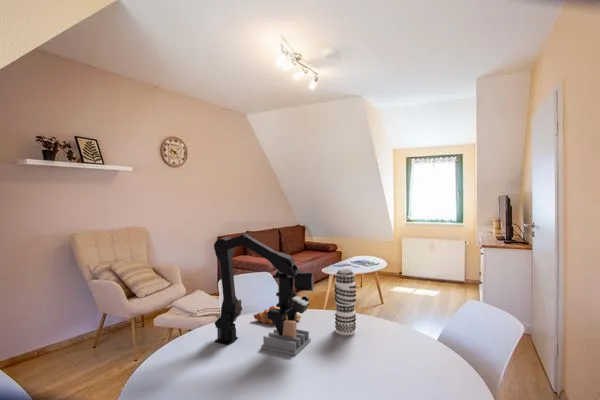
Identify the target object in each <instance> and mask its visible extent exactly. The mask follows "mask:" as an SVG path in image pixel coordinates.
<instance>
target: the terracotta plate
mask: <svg viewBox="0 0 600 400" xmlns="http://www.w3.org/2000/svg"><path fill="white" fill-rule="evenodd" d="M297 329H298V327H297V321H292V320H285V321H284V328H283V335H285V336H291V337H296V338H297ZM278 334H279V333H278Z"/></svg>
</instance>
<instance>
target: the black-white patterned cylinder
mask: <svg viewBox="0 0 600 400" xmlns="http://www.w3.org/2000/svg"><path fill="white" fill-rule="evenodd" d="M355 275H356V274H355V272H353V270H352V269H348V268H347V269H346V268H342V269H339V270H337V272H336V273H335V284H334V286H333V287H334V290H333V291H334V302H335V307H336V308H335V314H334V315H335V317H334V319H335V322H334V324H335V325H334V328H335V330H334V331H335V333H336V334H339V335H342V336H350V335H355V334H356V333H357V330H356V329H357V326H356V325H357V322H356V320H357V318H356V316H357V314H356V309H355V304H356V302H357V299H356V298H355V297H356V296H357V294H356V293H357V290H356V289H355V288H357V285H356V282H355Z"/></svg>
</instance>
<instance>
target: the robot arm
mask: <svg viewBox="0 0 600 400" xmlns="http://www.w3.org/2000/svg"><path fill="white" fill-rule="evenodd" d="M241 246H243V247H244V248H247V249H248V250H249V251H252V252H253V253H255V254H257V255H259V256H261V257H262V258H263V259H265V260H267V261H268V262H269V263H271V265H272V266H273V267H274V268H275V269H276V270H277V271H276V272H275V274H274V275H272V278H273V279H278V281H277V283H278V285H277V286H278V291H277V292H276V296H277V297H278V303H276V304H275V306H276V307H279V308H280V309H277V308H273V309H271V310H270V311H268V312H267V319H270V320H272V322H273V323H274V324H273V325H274V327H275V329H277V331H278V333H279V335H280V336H282V335H283V328H284V321H285V320H286V319H287V318H288V320H292V321H295V318H296V314H304V312H306V311H307V309H308V307H309V306H310V300H309V296H308V295H303V296H297V292H296V291H295V290H294V289H296V290H297V291H304V292H305V291H306V292H307V291H308V292H313V291H314V286H315V280H314V275H313V271H300V269H299V267H298V266H297V265H296V264H295V259H294V257H293V256H292V255H290V254H287V253H284V252H282V251H281V252H280V251H276V250H274V249H273V248H271V247H269V246H268V245H265V244H264V243H262V242H260V241H259V240H257V239H256V238H254V237H252V236H250V234H248V233H244V234H240V235H239V236H235V237H233V238H232V237H229V236H225V237H223V238H219V239H216V241H215V242H214V245H213V249H214V254H215V257H217V260H218V261H219V267H220V276H221V278H220V279H221V288H222V297H223V299H222V303H221V307H220V317H219V318H218V319H217V320H216V321H214V325H215V328H216V329H217V331H216V332H217V338H216V339H215V340H214V342H215V343H219V344H223V345H229V344H232V343H233V342H235V341H236V340H237V339H239V337H238V336H237V328H236V323H235V321H237V319H238V318H239V317H240V315H241V313H242V311H243V306H242V299H238V298H237V296H236V289H235V287H236V286H235V278H234V277H235V275H234V267H233V258H234V253H235V248H238V247H241ZM286 316H287V318H286Z"/></svg>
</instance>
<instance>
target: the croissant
mask: <svg viewBox="0 0 600 400" xmlns="http://www.w3.org/2000/svg"><path fill="white" fill-rule="evenodd" d="M273 308H277V309H280V308H279V307H276V305H275V306H273V305H271V306H270V307H269V309H264V311H262V312H260V311H259V312H258V313H256V314H253V318H254V319H255V320H257V321H259V322H261V323H262V324H270V325H274V323H273V322H272V320H270V319H267V312H268V311H270V310H271V309H273ZM286 318H287V316H286ZM301 318H302V315H300V314H299V313H297V314H296V318H295V321H296V322H297V321H300V320H301ZM286 320H288V318H287V319H286Z"/></svg>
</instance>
